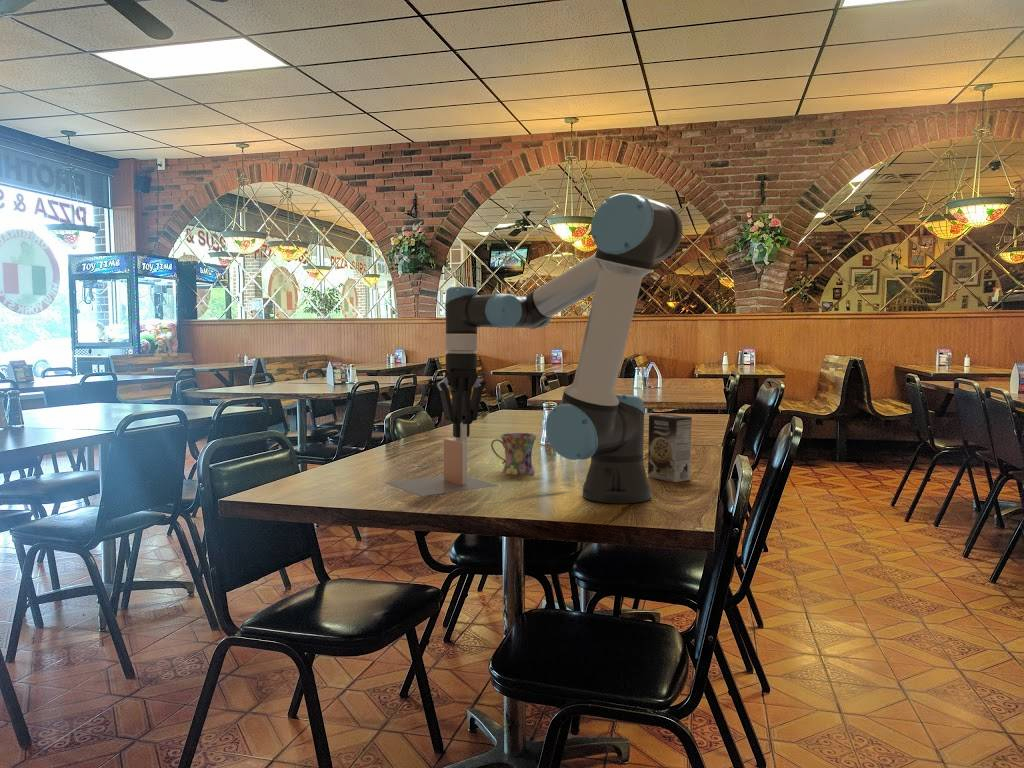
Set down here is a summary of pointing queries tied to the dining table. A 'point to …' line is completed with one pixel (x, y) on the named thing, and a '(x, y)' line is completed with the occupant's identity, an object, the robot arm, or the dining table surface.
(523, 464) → the mug
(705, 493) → the dining table surface
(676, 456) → the cookie box
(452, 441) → the tile
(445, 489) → the slate board
